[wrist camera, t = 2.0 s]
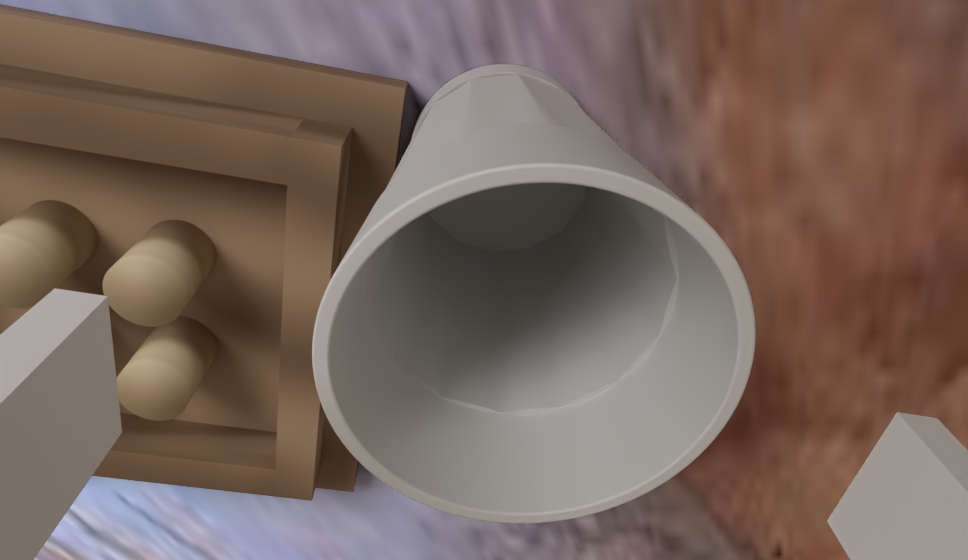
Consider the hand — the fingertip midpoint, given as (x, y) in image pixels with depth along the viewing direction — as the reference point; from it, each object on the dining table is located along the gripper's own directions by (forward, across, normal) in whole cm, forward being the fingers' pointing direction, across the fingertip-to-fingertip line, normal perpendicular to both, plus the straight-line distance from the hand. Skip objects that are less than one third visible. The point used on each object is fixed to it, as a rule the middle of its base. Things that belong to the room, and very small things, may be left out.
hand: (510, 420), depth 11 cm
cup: (+13, 0, 0) cm, 13 cm away
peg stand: (+13, -12, -6) cm, 19 cm away
